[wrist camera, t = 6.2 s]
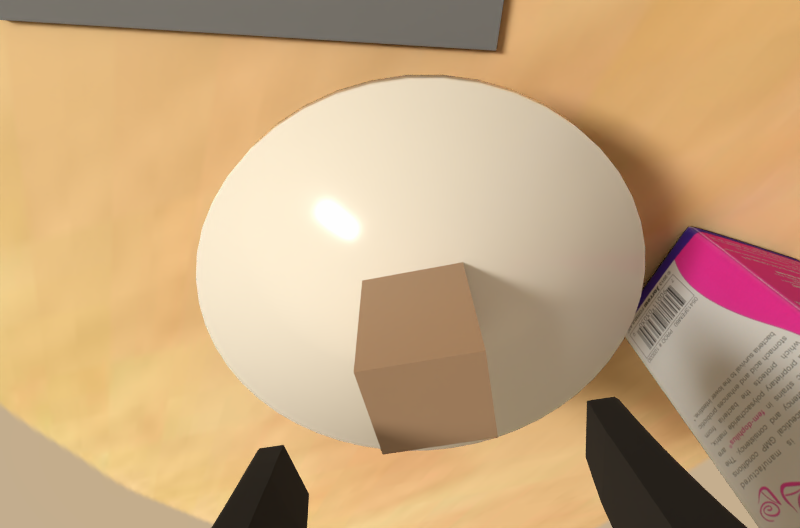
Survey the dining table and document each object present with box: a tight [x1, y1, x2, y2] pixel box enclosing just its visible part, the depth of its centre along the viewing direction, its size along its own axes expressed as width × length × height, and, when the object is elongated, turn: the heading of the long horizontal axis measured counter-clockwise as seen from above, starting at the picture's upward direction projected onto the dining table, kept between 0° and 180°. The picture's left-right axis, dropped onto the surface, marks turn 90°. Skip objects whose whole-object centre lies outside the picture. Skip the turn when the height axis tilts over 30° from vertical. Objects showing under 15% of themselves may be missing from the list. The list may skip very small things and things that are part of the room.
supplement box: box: [625, 227, 800, 528], centre depth 16 cm, size 6×6×12 cm
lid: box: [196, 75, 645, 454], centre depth 14 cm, size 14×14×5 cm
